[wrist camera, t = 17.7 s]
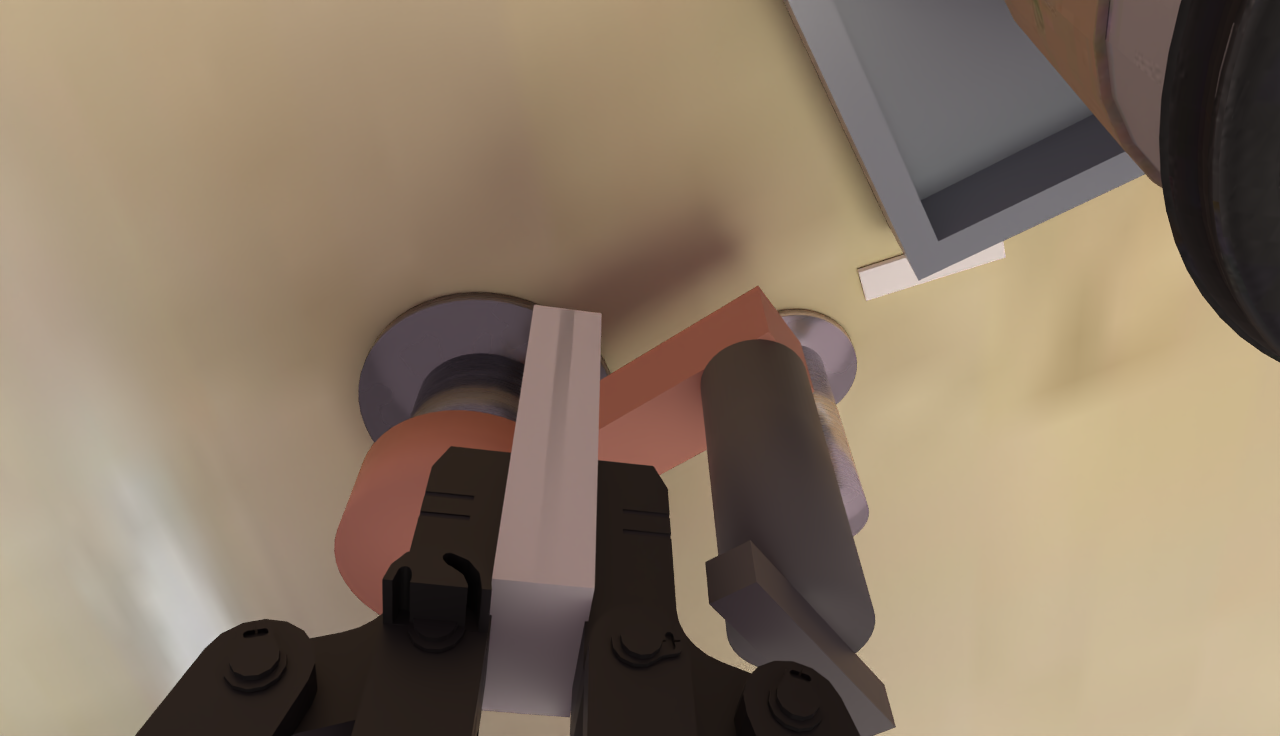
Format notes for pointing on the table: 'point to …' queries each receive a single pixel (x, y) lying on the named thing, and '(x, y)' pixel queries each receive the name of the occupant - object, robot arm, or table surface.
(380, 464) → the crank
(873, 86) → the tray
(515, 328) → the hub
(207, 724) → the robot arm
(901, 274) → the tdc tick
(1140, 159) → the coffee cup
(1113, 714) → the table surface
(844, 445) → the peg
